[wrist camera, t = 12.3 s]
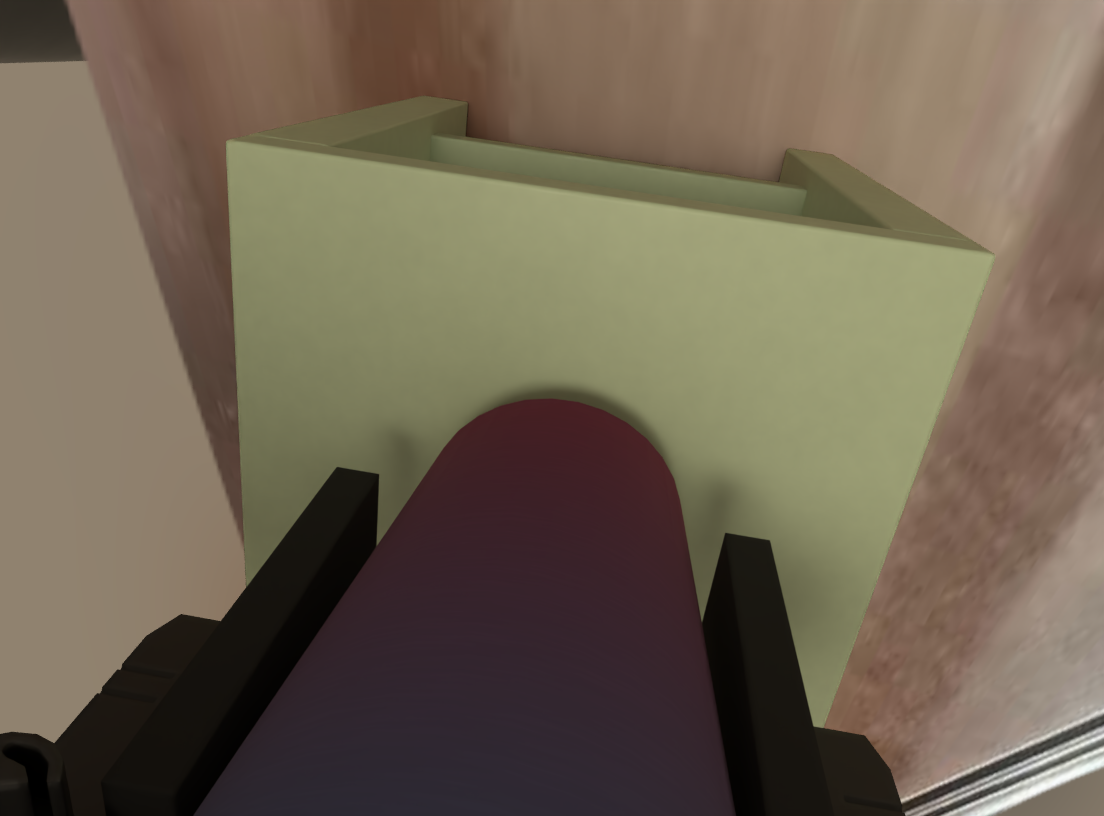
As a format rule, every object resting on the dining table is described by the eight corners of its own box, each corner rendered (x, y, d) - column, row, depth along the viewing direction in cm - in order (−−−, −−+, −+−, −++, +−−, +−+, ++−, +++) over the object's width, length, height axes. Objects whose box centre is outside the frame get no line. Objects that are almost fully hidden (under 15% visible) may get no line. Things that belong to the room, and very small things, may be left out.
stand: (405, 410, 32) (246, 645, 20) (422, 95, 27) (223, 138, 15) (751, 467, 32) (817, 749, 19) (834, 154, 27) (999, 254, 14)
